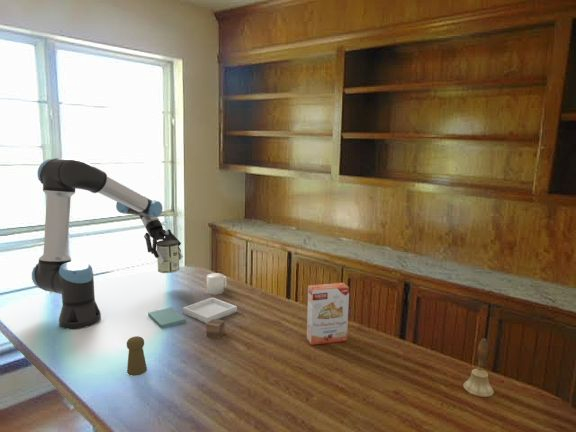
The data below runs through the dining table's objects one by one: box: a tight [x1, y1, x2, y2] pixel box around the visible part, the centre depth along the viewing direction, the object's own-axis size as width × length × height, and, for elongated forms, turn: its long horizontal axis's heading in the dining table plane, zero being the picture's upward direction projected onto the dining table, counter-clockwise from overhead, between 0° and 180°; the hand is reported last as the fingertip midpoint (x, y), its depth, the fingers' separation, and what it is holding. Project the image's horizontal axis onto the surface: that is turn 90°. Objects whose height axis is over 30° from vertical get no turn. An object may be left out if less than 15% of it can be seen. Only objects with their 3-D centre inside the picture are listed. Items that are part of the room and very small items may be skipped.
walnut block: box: [205, 319, 226, 339], centre depth 161 cm, size 5×5×5 cm
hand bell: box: [462, 337, 494, 398], centre depth 126 cm, size 8×8×16 cm
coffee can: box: [156, 240, 180, 274], centre depth 208 cm, size 10×10×14 cm
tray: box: [182, 296, 238, 324], centre depth 182 cm, size 16×16×2 cm
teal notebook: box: [147, 307, 187, 330], centre depth 175 cm, size 10×15×2 cm, turn 37°
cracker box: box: [306, 282, 350, 346], centre depth 156 cm, size 14×6×21 cm, turn 105°
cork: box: [126, 335, 148, 377], centre depth 135 cm, size 6×6×11 cm
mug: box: [206, 272, 228, 296], centre depth 207 cm, size 10×8×8 cm
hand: (171, 260), depth 206 cm, fingers closed on coffee can, 10 cm apart
